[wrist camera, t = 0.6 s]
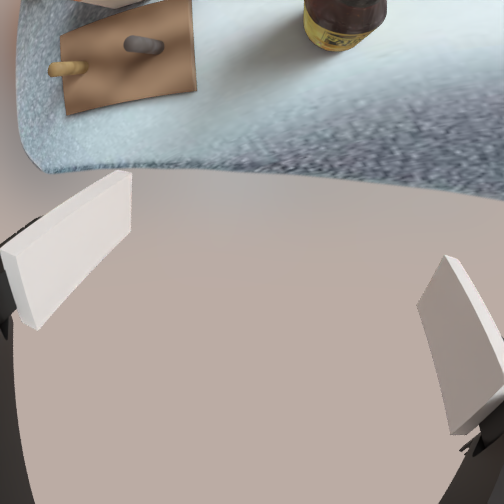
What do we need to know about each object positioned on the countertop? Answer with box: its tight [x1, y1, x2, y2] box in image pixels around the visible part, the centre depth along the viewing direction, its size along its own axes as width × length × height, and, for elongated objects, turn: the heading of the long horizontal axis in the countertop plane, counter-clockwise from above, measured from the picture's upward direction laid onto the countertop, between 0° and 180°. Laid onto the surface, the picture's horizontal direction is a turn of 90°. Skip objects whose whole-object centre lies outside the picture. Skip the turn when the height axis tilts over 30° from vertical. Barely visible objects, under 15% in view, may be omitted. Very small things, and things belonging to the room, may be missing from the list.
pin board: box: [48, 0, 197, 116], centre depth 29 cm, size 12×19×7 cm, turn 93°
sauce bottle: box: [303, 0, 387, 51], centre depth 18 cm, size 6×6×20 cm
